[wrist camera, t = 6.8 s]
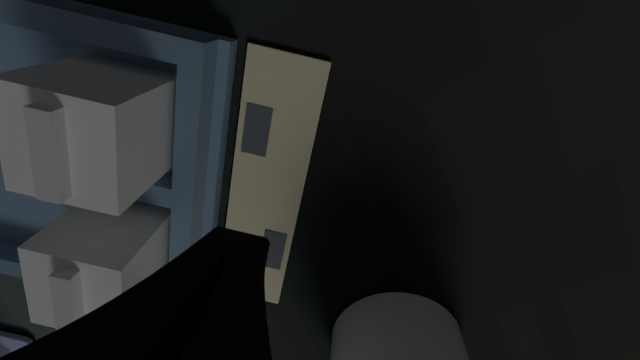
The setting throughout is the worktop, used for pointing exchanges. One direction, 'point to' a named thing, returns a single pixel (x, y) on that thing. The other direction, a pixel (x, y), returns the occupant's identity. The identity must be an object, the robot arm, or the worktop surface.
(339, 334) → the pill bottle
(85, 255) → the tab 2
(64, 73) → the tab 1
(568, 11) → the worktop surface
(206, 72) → the dark blue tray
